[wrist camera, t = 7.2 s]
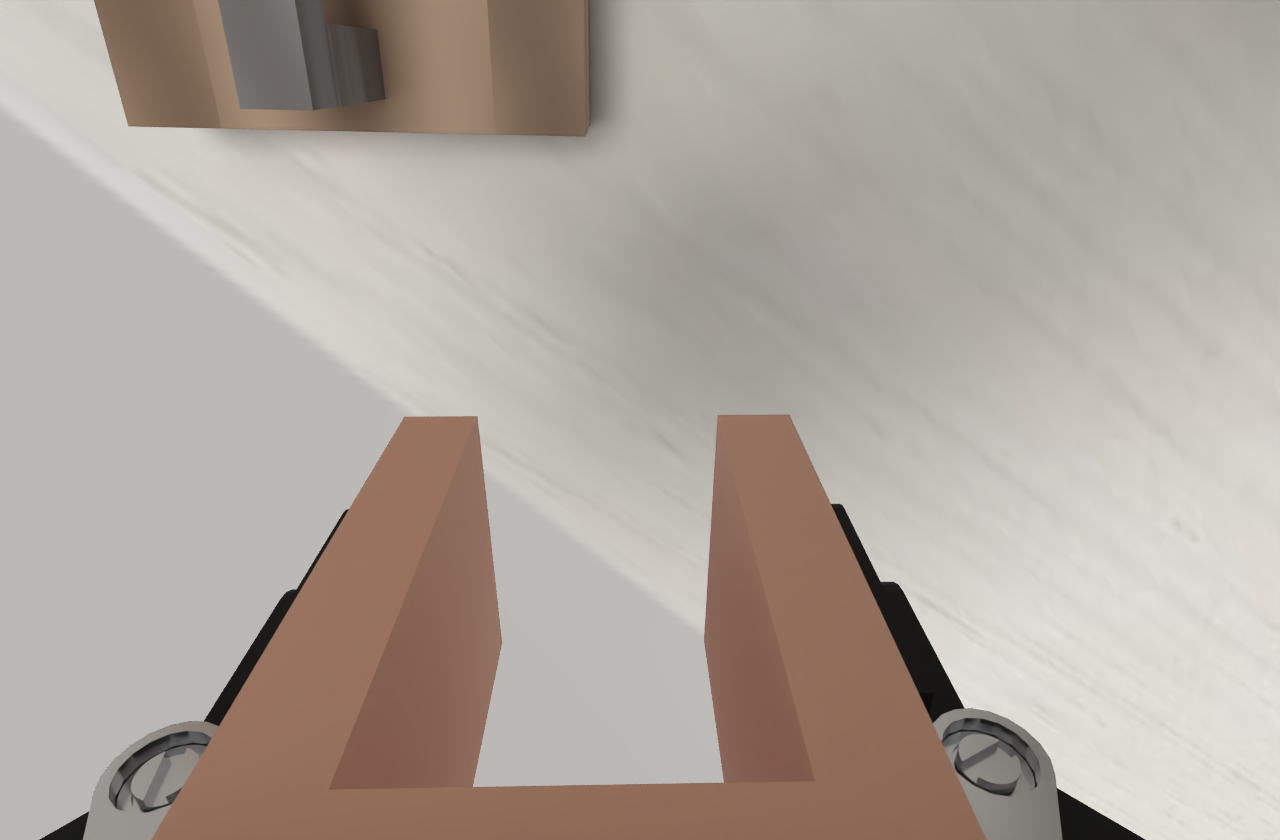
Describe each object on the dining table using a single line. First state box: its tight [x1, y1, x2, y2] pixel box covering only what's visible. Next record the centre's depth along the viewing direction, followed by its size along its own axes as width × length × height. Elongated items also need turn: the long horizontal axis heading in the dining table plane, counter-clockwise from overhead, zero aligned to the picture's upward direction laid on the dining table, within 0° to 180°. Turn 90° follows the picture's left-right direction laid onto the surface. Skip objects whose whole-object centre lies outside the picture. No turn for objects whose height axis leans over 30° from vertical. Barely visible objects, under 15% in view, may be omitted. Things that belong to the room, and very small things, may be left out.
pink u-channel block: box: [151, 415, 987, 840], centre depth 10 cm, size 6×5×8 cm
